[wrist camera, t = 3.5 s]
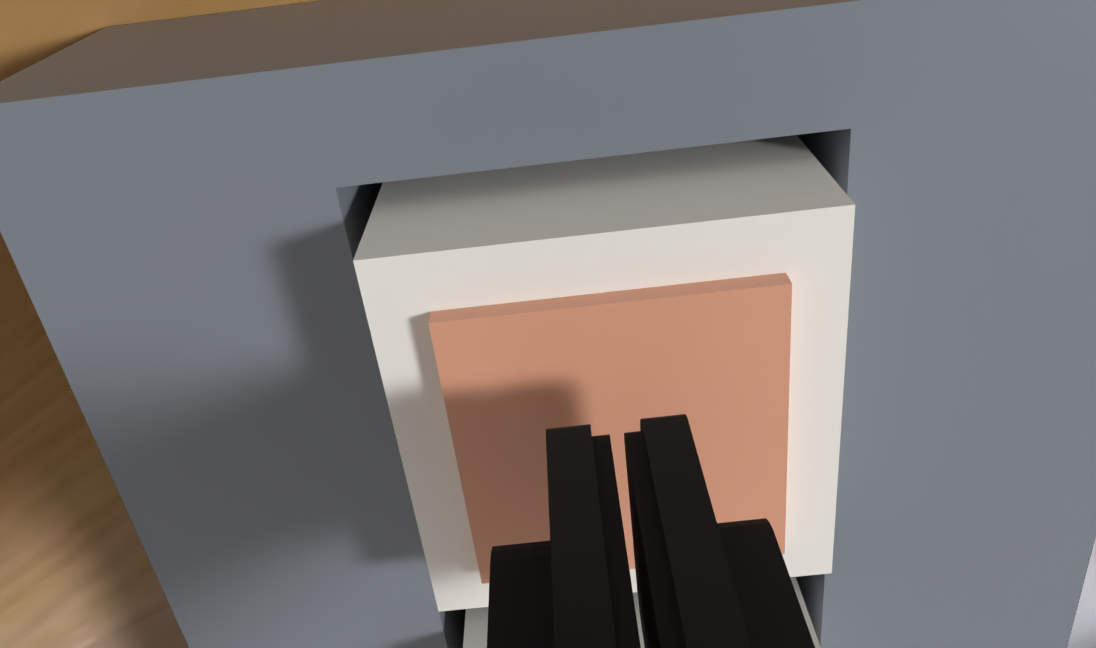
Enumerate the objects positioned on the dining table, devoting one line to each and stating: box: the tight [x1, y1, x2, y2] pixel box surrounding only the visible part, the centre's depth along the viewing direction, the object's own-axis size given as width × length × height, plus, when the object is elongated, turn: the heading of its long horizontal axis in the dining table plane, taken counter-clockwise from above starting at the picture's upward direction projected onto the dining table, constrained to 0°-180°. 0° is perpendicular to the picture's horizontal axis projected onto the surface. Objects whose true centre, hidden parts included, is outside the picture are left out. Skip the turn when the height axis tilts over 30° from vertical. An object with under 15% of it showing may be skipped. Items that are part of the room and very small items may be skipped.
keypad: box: [0, 0, 1096, 648], centre depth 20 cm, size 26×16×5 cm, turn 6°
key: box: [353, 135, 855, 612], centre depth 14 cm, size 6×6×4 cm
